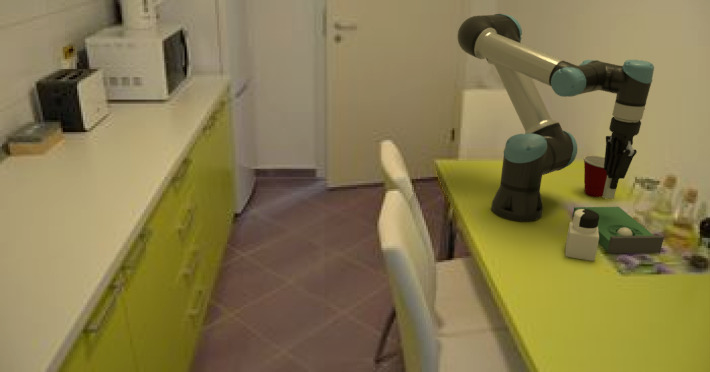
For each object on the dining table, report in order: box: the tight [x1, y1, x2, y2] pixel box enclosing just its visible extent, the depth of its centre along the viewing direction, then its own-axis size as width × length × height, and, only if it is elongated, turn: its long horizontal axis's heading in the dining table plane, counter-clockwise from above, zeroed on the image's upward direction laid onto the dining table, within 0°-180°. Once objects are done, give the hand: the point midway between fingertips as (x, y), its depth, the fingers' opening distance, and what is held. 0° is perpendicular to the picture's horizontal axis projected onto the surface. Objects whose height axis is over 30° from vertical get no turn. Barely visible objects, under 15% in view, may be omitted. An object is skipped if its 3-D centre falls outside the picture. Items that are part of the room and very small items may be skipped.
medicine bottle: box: [565, 209, 599, 262], centre depth 150 cm, size 7×7×12 cm
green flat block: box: [572, 206, 664, 254], centre depth 163 cm, size 14×23×4 cm, turn 4°
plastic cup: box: [583, 154, 607, 198], centre depth 188 cm, size 11×11×12 cm
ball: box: [617, 227, 633, 236], centre depth 158 cm, size 4×4×4 cm
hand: (608, 197), depth 165 cm, fingers closed
